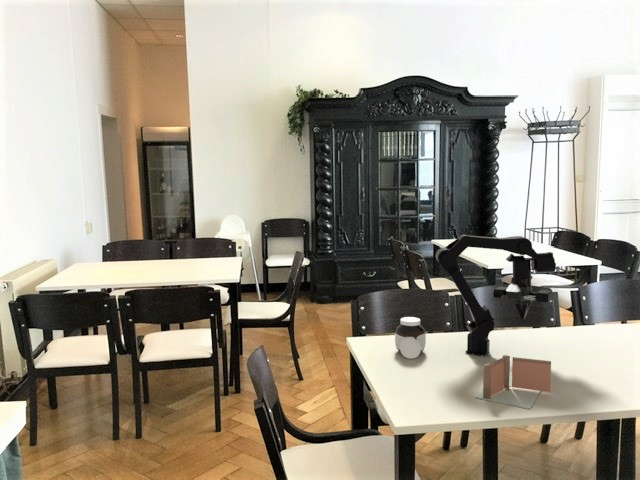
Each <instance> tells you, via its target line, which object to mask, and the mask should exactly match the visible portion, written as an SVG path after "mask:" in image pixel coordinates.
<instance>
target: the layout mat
mask: <svg viewBox="0 0 640 480" xmlns="http://www.w3.org/2000/svg"><path fill="white" fill-rule="evenodd" d="M509 386H511V387H509V388H504V387H503V390H502V391H500V392H498V393H496V394H494V395H492V396H491V398H490V399H485V398H483V387H482V388H481V390H479V392H478V393H477V394H476V395H475V397H474V398H476V399H480V400H485V401H489V402H494V403H499V404H503V405H508V406H513V407H517V408H522V409H528V410H531V409H532V407H533V405H534V404H535V402H536V400H537V399H538V397H539V396H540V394H541V392H542V391H538V390H530V389H522V388H514V387H512V373H510V376H509ZM506 389H512V390H506Z"/></svg>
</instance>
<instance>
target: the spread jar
mask: <svg viewBox="0 0 640 480" xmlns="http://www.w3.org/2000/svg"><path fill="white" fill-rule="evenodd" d="M426 335H427V334H426V330H425V328H424V327H423V326H422V325H421V319H420V318H419V317H415V316H404V317H401V318H400V324H399V325H398V326H397V327H396V329H395V333H394V343H395V348H396V350H398V352H399V353H401V356H403V358H407V359H409V360H410V359H411V360H413V359H416V358H417V357H418V356H419V355H420V354H421V353H422V352H424V350H425V348H426V341H427V340H426V339H427V337H426Z"/></svg>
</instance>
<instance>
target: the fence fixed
mask: <svg viewBox="0 0 640 480" xmlns="http://www.w3.org/2000/svg"><path fill="white" fill-rule="evenodd" d="M482 377H483V378H482V380H483V381H482V388H483V398H485V399H490V398H491V396H492V395H494V394H496V393H498V392H500V391H502V390H503V382H504V359H502V358H499V359H497V360H495V361H492V362H490V363H484V364H483V376H482ZM509 387H511V386H509ZM506 390H512V389H506Z"/></svg>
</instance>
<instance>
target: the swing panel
mask: <svg viewBox="0 0 640 480" xmlns="http://www.w3.org/2000/svg"><path fill="white" fill-rule="evenodd" d="M501 357H502V359H504V382H503V387H504V388H509V376H510V374H512V387H514V388H522V389H530V390H538V391H541V392H547V393H550V392H551V378H552V377H551V376H552V361H551V360H543V359H534V358H525V357H524V358H523V357H515V356H512V357H511V356H510V355H506V354H503V355H502V356H501ZM511 358H512V360H511ZM511 361H512V362H511ZM511 364H512V365H511ZM510 366H511V367H510ZM510 368H511V369H510ZM510 370H511V372H510Z"/></svg>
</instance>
